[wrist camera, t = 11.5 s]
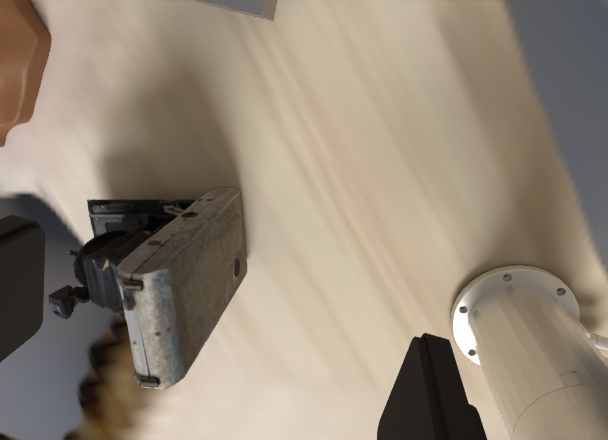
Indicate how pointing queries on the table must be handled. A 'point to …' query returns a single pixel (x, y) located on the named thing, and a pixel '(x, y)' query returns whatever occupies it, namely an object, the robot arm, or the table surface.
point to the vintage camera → (161, 275)
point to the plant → (20, 62)
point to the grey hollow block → (246, 7)
